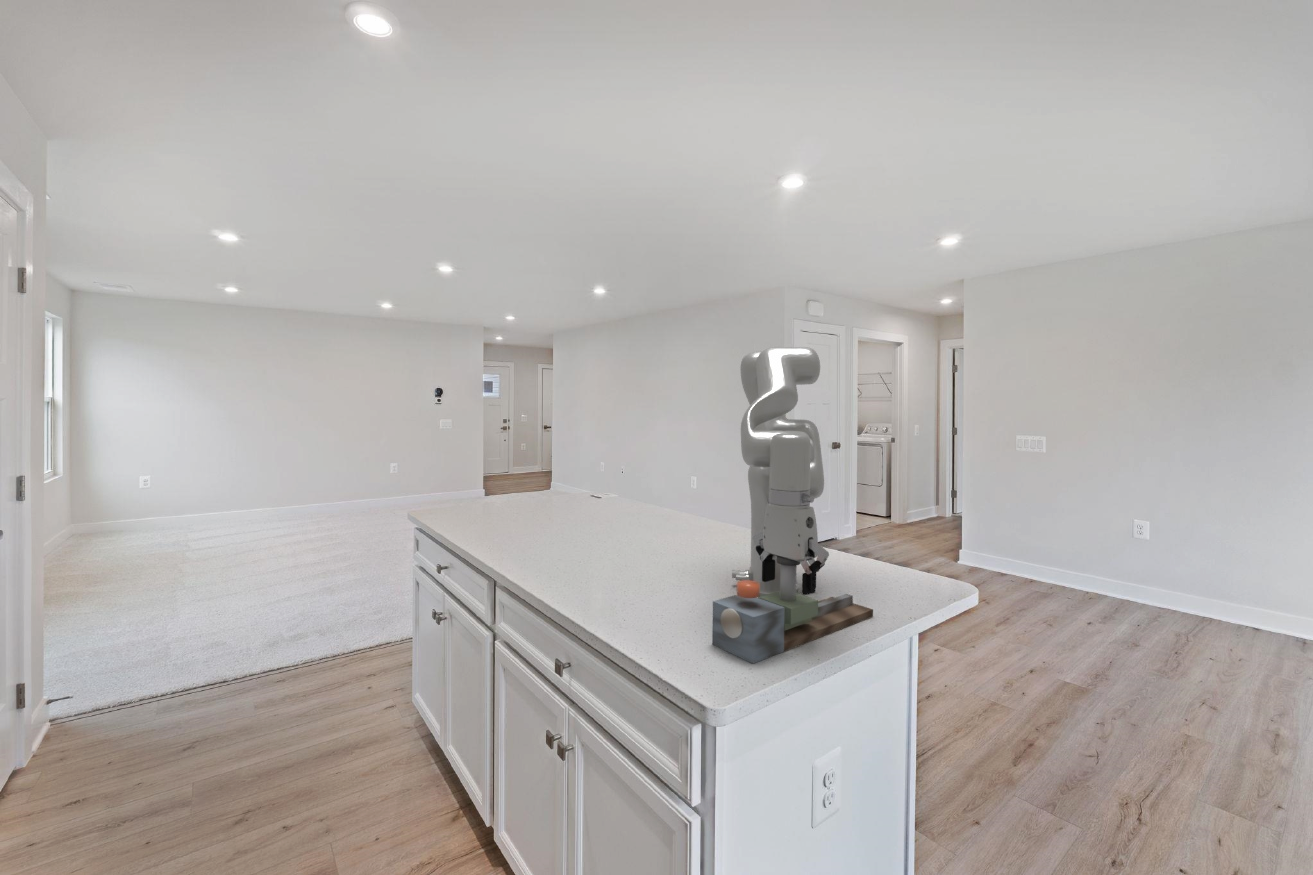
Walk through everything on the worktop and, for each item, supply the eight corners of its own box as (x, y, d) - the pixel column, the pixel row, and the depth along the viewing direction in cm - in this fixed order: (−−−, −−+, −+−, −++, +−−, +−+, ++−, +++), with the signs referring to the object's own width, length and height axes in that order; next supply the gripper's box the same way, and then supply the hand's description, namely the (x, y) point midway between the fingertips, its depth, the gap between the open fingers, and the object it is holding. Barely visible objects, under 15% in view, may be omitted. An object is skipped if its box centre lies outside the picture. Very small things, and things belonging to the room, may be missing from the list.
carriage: (790, 632, 104) (791, 564, 103) (757, 620, 110) (758, 555, 109) (817, 623, 109) (819, 557, 108) (784, 611, 115) (785, 549, 114)
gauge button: (748, 599, 99) (748, 588, 99) (732, 593, 103) (732, 582, 102) (764, 595, 102) (764, 584, 102) (747, 589, 105) (747, 578, 105)
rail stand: (751, 664, 96) (752, 617, 96) (710, 644, 104) (711, 601, 104) (872, 616, 119) (873, 578, 118) (831, 603, 127) (832, 567, 126)
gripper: (840, 502, 104) (838, 594, 105) (767, 491, 117) (766, 573, 118) (815, 506, 99) (813, 603, 100) (742, 494, 113) (741, 579, 114)
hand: (787, 586), depth 109 cm, fingers open, 9 cm apart
